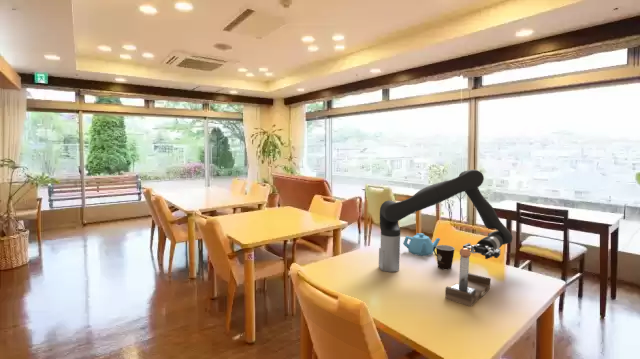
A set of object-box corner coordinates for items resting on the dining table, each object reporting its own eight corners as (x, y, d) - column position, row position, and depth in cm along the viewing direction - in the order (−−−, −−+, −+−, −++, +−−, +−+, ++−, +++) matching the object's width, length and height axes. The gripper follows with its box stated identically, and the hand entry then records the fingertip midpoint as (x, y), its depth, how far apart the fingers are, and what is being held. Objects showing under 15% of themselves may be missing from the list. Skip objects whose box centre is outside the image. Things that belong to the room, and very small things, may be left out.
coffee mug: (456, 270, 171) (457, 250, 170) (438, 270, 171) (439, 250, 170) (448, 262, 182) (449, 243, 181) (431, 262, 182) (432, 243, 181)
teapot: (417, 246, 209) (418, 228, 208) (440, 252, 197) (441, 234, 196) (401, 251, 199) (401, 233, 198) (424, 258, 188) (425, 238, 186)
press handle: (470, 298, 136) (473, 251, 134) (450, 292, 142) (452, 247, 140) (475, 294, 140) (478, 248, 138) (455, 288, 145) (457, 244, 143)
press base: (471, 306, 134) (472, 295, 133) (445, 298, 141) (445, 287, 140) (491, 289, 150) (491, 278, 149) (466, 282, 157) (466, 272, 156)
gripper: (472, 234, 164) (458, 242, 152) (506, 240, 154) (493, 249, 142) (471, 250, 164) (458, 259, 153) (505, 257, 155) (493, 267, 143)
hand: (475, 254), depth 147 cm, fingers open, 8 cm apart
